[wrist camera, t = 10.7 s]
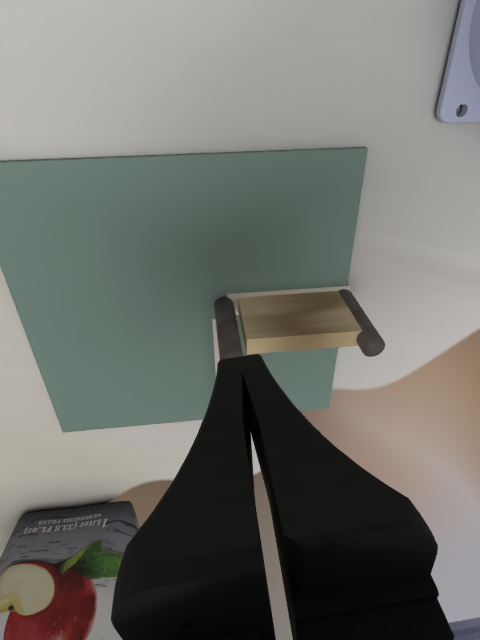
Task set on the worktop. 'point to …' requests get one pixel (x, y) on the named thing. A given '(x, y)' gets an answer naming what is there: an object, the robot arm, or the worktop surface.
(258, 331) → the tan and grey block
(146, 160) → the card
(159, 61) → the worktop surface
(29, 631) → the juice carton
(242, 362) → the robot arm
